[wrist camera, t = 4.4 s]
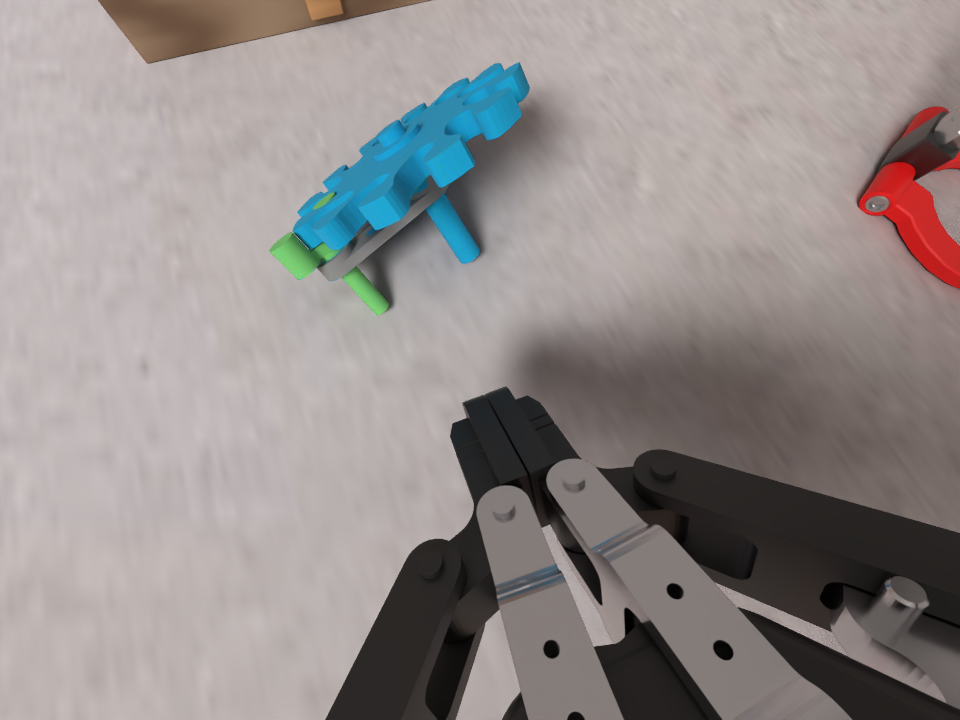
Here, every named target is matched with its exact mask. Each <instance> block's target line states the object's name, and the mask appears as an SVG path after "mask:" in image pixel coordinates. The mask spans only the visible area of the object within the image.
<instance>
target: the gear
mask: <svg viewBox="0 0 960 720" xmlns="http://www.w3.org/2000/svg"><path fill="white" fill-rule="evenodd" d="M529 88H530V87H529V84H528V82H527V79H526V77H525V74H524V72H523V69H522V67H521V65H520V62H519V63H516V64H514V65H512V66H511V67H509V68H507V69H506V70H504V69H503V67H502V65H501V64H500V63H497V64H494V65H492V66H490V67H489V68H488V69H486V70H485V71H483V72H482V73H481V74H480V75H479V76H478V77H476V78H475V79H474V80H473V81H472V82H469V80H468V78H464V79H462V80H460V81H458V82H456V83H454V84H452V85H451V86H450V87H448V88H447V89H446V90H445V91H444V92H443V93H442V94H441V95H440V96H439V98H438V99H437V100H436V101H434V102H433V103H432V104H431V105H430V106H429V107H428V108H427V106H426V104H425V103H423V104H421V105H419V106H417V107H416V108H414V109H413V110H411V111H409V112H408V113H406V114H405V115H404V116H403V117H402V118H401V122H400V121H399V120H396V121H394V122H393V123H391V124H390V125H388V126H387V127H385V128H384V129H383V130H382V131H381V132H380V133H379V134H378V135H377V136H376V137H375V138H373V139H372V140H371V141H369V142H368V143H367V144H365V145H364V146H363V147H361V149H360V150H359V151H360V153H361V154H362V155H363V157H362V158H361V159H360V160H359V161H358V162H357V163H356V164H355V165H354V166H352V167H351V168H348V167H347V165H343V166H341V167H340V168H339V169H337V170H336V171H335V172H334V173H333V174H331V175H330V176H329V177H328V178H327V179H326V180H325V181H324V182H323V184H324V185H325V186H326V188H327V189H328V190H329V191H328V192H326V193H322V192H320V193H317V194H316V195H314V196H313V197H311V198H310V199H309V200H308V201H307V202H306V203H305V204H304V205H303V206H302V207H301V208H300V210H299V211H298V212H297V213H298V214H299V215H300V216H301V217H302V218H301V219H299V220H298V221H297V223H296V224H295V226H294V228H293V232H294V234H295V235H296V236H297V237H298V238H299V239H300V240H301V241H302V242H303V243H304V244H305V245H306V246H307V247H308V248H309V250H308V249H307V248H306V247H305V245H304V244H303V243H302V242H301V241H300V240H299V239H298V238H297V237H296V236H295V235H294V234H293V233H292V232H291V233H288V234H287V235H285V236H284V237H282V238H281V239H280V240H278V241H277V242H276V243H275V244H274V245H273V246H272V247H271V249H270V251H269V252H270V253H271V254H272V255H273V256H274V257H276V258H277V259H278V260H279V261H280V262H281V263H282V264H283V265H284V266H285V267H286V268H287V269H288V270H289V271H290V272H291V273H292V274H293V275H294V276H295V277H296V278H297V279H298V280H300V279H303V278H305V277H306V276H308V275H309V274H310V273H311V272H313V271H314V270H315V268H317V269H318V270H319V271H320V272H321V273H322V274H323V275H324V276H325V277H326V278H327V279H328V280H329V281H335V280H337V279H339V278H341V277H342V278H343V279H344V280H345V282H346V283H347V284H348V285H349V286H350V287H351V288H352V289H353V290H354V291H355V292H356V293H357V294H358V296H359V297H360V298H361V299H362V300H363V301H364V302H365V303H366V304H367V305H368V306H369V307H370V308H371V310H372V311H373V312H374V313H375V314H376V315H379V314H382V313H383V312H384V311H386V310H387V308H388V307H389V303H388V302H387V301H386V299H385V298H384V297H383V296H382V295H381V294H380V293H379V291H378V290H377V289H376V288H375V287H374V286H373V285H372V284H371V282H370V281H369V280H368V279H367V278H366V277H365V276H364V274H363V273H362V272H361V271H360V270H359V269H358V268H357V265H358V264H359V263H360V262H362V261H363V260H364V259H365V258H366V257H368V256H369V255H370V254H371V253H373V252H374V251H375V250H376V249H377V248H379V247H380V246H381V245H382V244H383V243H385V242H386V241H387V240H388V239H390V238H391V237H392V236H393V235H394V234H396V233H397V232H398V231H399V230H401V229H402V228H403V227H404V226H405V225H407V224H408V223H409V222H410V221H412V220H413V219H414V218H415V217H416V216H418V215H419V214H420V213H421V212H423V211H424V210H426V212H427V213H428V215H429V216H430V218H431V219H432V221H433V222H434V223H435V225H436V226H437V228H438V229H439V231H440V232H441V234H442V235H443V237H444V238H445V240H446V241H447V243H448V244H449V246H450V247H451V249H452V250H453V252H454V253H455V255H456V256H457V258H458V259H459V261H460V262H461V263H463V264H465V263H468V262H470V261H472V260H474V259H475V258H476V257H477V256H478V255H479V253H480V249H479V248H478V246H477V245H476V243H475V241H474V240H473V238H472V236H471V235H470V233H469V232H468V230H467V228H466V227H465V225H464V224H463V222H462V220H461V219H460V217H459V216H458V214H457V212H456V211H455V209H454V207H453V206H452V204H451V203H450V201H449V199H448V198H447V196H446V195H445V191H446V190H447V188H448V184H450V183H451V182H453V181H454V180H456V179H457V178H459V177H460V176H462V175H463V174H464V173H466V172H467V171H468V170H470V169H471V168H472V167H474V165H475V160H474V158H473V156H472V154H471V152H470V150H469V149H468V147H467V145H466V142H467V141H468V140H470V139H471V138H473V137H475V136H477V135H479V134H482V133H483V135H484V137H485V139H486V140H492V139H495V138H497V137H500V136H501V135H502V134H503V133H505V132H506V131H507V130H508V129H509V128H510V127H512V126H513V125H514V124H515V122H516V121H517V120H518V119H519V118H520V117H521V116H522V113H521V110H520V108H519V106H518V103H519V102H521V101H522V100H523V99H524V98H525V97H526V96H527V94H528V92H529ZM367 221H369V223H370V225H369V226H368V227H367V228H366V229H364V230H363V231H362V232H361V233H359V234H358V235H357V236H356V237H354V236H355V234H356V233H357V232H358V230H359V229H360V228H361V227H362V226H363V225H364V224H365V223H366V222H367ZM353 237H354V238H353ZM352 238H353V239H352ZM351 239H352V240H351ZM350 240H351V241H350Z"/></svg>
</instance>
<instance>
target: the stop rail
mask: <svg viewBox="0 0 960 720" xmlns="http://www.w3.org/2000/svg"><path fill="white" fill-rule="evenodd" d="M98 1H99V2H100V4H101V5H102V6H103V8H104V9H105V10H106V11H107V13H108V14H109V15H110V17H111V18H112V19H113V20H114V22H115V23H116V24H117V26H118V27H119V28H120V29H121V31H122V32H123V33H124V35H125V36H126V37H127V38H128V40H129V41H130V42H131V44H132V45H133V46H134V47H135V49H136V50H137V51H138V53H139V54H140V55H141V56H142V58H143V59H144V60H145V62H146V63H151V62H155V61H160V60H164V59H169V58H173V57H178V56H182V55H187V54H191V53H196V52H200V51H205V50H209V49H213V48H218V47H222V46H227V45H231V44H236V43H240V42H245V41H249V40H254V39H258V38H263V37H267V36H272V35H276V34H281V33H285V32H290V31H294V30H298V29H303V28H307V27H312V26H316V25H321V24H325V23H330V22H334V21H339V20H343V19H348V18H352V17H357V16H361V15H366V14H370V13H374V12H379V11H383V10H388V9H392V8H397V7H401V6H406V5H410V4H415V3H419V2H424V1H428V0H98Z"/></svg>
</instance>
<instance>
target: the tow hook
mask: <svg viewBox="0 0 960 720" xmlns="http://www.w3.org/2000/svg"><path fill="white" fill-rule="evenodd" d="M950 168H958V169H960V107H959V108H957V109H955V110H953V111H952V112H949V111H948V110H947V109H945V108H943V107H930V108H927V109H924V110H922V111H921V112H919V113H918V114H917V115H916V116H915V118H914V119H913V120H912V122H911V124H910V125H909V127H908V128H907V130H906V131H905V133H904V134H903V136H902V137H901V139H900V140H898V141H897V142H896V143H895V144H894V146H893V147H892V149H891V150H890V152H889V153H888V155H887V156H886V158H885V159H884V161H883V162H882V164H881V165H880V167H879V168H878V170H877V173H876V177H875V179H874V180H873V182H872V183H871V185H870V186H869V188H868V189H867V191H866V192H865V194H864V195H863V197H862V198H861V200H860V202H859V207H860V209H861V210H862V211H863V212H865V213H866V214H869V215H874V216H878V215H885V216H887V217H888V218H889V219H891V220H892V221H893V222H895V223H896V225H897V228H898V230H899V233H900V235H901V237H902V238H903V240H904V242H905V243H906V245H907V246H908V248H909V250H910V251H911V253H912V254H913V255H914V256H915V257H916V258H917V259H918V260H919V261H920V262H921V263H922V265H923V266H924V267H925V268H926V269H927V270H928V271H930V272H931V273H933V274H934V275H936V276H937V277H938V278H940V279H941V280H943V281H944V282H946V283H947V284H949V285H951V286H954V287H956V288H959V289H960V246H959V245H958V244H957V243H956V242H955V241H954V240H953V239H952V238H951V237H950V236H949V235H948V234H947V232H946V230H945V229H944V227H943V226H942V224H941V223H940V221H939V219H938V216H937V213H936V211H935V208H934V203H933V196H932V195H931V193H930V192H929V191H927V190H926V189H925V188H923V187H922V186H921V185H919V184H918V183H916V182H915V180H917V179H918V178H920V177H922V176H924V175H926V174H928V173H929V172H931V171H933V170H937V171H940V170H942V169H950Z"/></svg>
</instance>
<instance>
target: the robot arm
mask: <svg viewBox="0 0 960 720" xmlns="http://www.w3.org/2000/svg"><path fill="white" fill-rule="evenodd" d="M463 407H464V411H465V414H466V417H467V418H466V419H463V420H461V421H458V422H455V423H453V424H452V429H451V435H450V438H451V440H452V443H453V446H454V449H455V452H456V455H457V458H458V460H459V463H460V466H461V469H462V472H463V475H464V477H465V480H466V483H467V486H468V488H469V491H470V494H471V497H472V499H473V502H474V511H473V515H472V517H471V519H470V521H469V523H468V524H467V526H466V527H465V528H464V529H463V530H462V531H461V532H460V533H458V534H457V535H456V536H455V537H454V538H452V539H451V540H450V541H447V540H444V539H432V540H428V541H425V542H423V543H422V544H420V545H419V546H417V547H416V548H415V549H414V550H413V551H412V552H411V553H410V554H409V556H408V558H407V559H406V561H405V563H404V565H403V567H402V569H401V571H400V573H399V575H398V577H397V579H396V581H395V583H394V585H393V587H392V589H391V591H390V593H389V595H388V597H387V599H386V601H385V603H384V605H383V607H382V609H381V611H380V613H379V615H378V617H377V619H376V621H375V623H374V624H373V626H372V628H371V630H370V632H369V634H368V636H367V638H366V640H365V642H364V644H363V646H362V648H361V650H360V652H359V654H358V656H357V658H356V660H355V662H354V664H353V666H352V668H351V670H350V672H349V674H348V676H347V678H346V680H345V682H344V684H343V686H342V688H341V690H340V692H339V694H338V696H337V698H336V700H335V702H334V704H333V706H332V708H331V710H330V712H329V714H328V715H327V717H326V719H325V720H456V716H457V713H458V710H459V707H460V704H461V701H462V697H463V694H464V691H465V688H466V685H467V682H468V679H469V675H470V672H471V669H472V666H473V663H474V660H475V657H476V653H477V650H478V647H479V644H480V641H481V638H482V634H483V631H484V627H485V622H486V621H487V620H488V619H489V618H491V617H492V616H493V615H494V614H495V613H496V612H497V611H498V610H499V609H500V612H501V616H502V620H503V624H504V628H505V632H506V636H507V639H508V643H509V647H510V651H511V655H512V659H513V663H514V666H515V670H516V674H517V678H518V682H519V686H520V689H521V692H520V693H519V694H518V696H517V697H516V698H515V699H514V700H513V702H512V703H511V705H510V706H509V708H508V710H507V711H506V713H505V715H504V717H503V719H502V720H960V533H958V532H954V531H950V530H947V529H943V528H940V527H936V526H933V525H929V524H926V523H922V522H919V521H915V520H912V519H908V518H905V517H901V516H898V515H894V514H891V513H887V512H883V511H880V510H876V509H873V508H869V507H866V506H862V505H859V504H855V503H852V502H848V501H845V500H841V499H838V498H834V497H831V496H827V495H823V494H820V493H816V492H813V491H809V490H806V489H802V488H799V487H795V486H792V485H788V484H785V483H781V482H778V481H774V480H771V479H767V478H764V477H760V476H756V475H753V474H749V473H746V472H742V471H739V470H735V469H732V468H728V467H725V466H721V465H718V464H714V463H711V462H707V461H704V460H700V459H696V458H693V457H689V456H686V455H682V454H679V453H675V452H672V451H668V450H650V451H647V452H645V453H643V454H641V455H640V456H639V457H638V458H637V459H636V460H635V462H634V467H625V468H615V469H603V468H598V467H595V466H594V465H592V464H591V463H589V462H587V461H585V460H582V459H581V458H580V457H579V456H578V455H577V453H576V452H575V450H574V449H573V448H572V446H571V445H570V443H569V442H568V441H567V439H566V438H565V437H564V435H563V434H562V432H561V431H560V430H559V428H558V427H557V425H556V424H554V421H553V420H552V419H551V417H550V416H549V415H548V413H547V412H546V410H545V409H544V408H543V406H542V405H541V403H540V402H538V401H536V400H534V399H533V398H531V397H529V396H524V397H522V398H519V399H516V400H515V398H514V397H513V395H512V393H511V392H510V390H509V389H508V388H507V387H503V388H500V389H498V390H495V391H492V392H489V393H487V394H485V396H484V395H482V396H479V397H476V398H473V399H471V400H468V401H465V402H463ZM549 524H550V525H551V527H552V529H553V531H554V532H555V534H556V537H557V542H558V547H559V549H560V551H561V553H562V554H563V556H564V558H565V559H566V561H567V562H568V564H569V566H570V567H571V569H572V570H573V572H574V574H575V575H576V577H577V578H578V580H579V582H580V583H581V585H582V586H583V588H584V590H585V591H586V593H587V595H588V596H589V598H590V599H591V601H592V603H593V604H594V606H595V607H596V609H597V611H598V613H599V614H600V616H601V619H602V621H603V623H604V626H605V629H606V631H607V633H608V635H609V637H610V639H611V641H612V643H613V644H610V645H603V646H596V647H593V644H592V642H591V639H590V637H589V635H588V632H587V630H586V627H585V625H584V623H583V620H582V618H581V615H580V613H579V610H578V608H577V606H576V603H575V601H574V598H573V596H572V594H571V591H570V589H569V586H568V584H567V582H566V580H565V577H564V575H563V573H562V572H561V571H559V569H558V567H557V565H556V563H555V560H554V558H553V556H552V553H551V551H550V548H549V546H548V543H547V541H546V538H545V536H544V533H543V531H542V529H541V528H542V527H545V526H547V525H549ZM714 582H716V583H718V584H720V585H723V586H725V587H727V588H730V589H732V590H734V591H737V592H739V593H741V594H744V595H746V596H748V597H751V598H753V599H755V600H758V601H760V602H763V603H765V604H767V605H770V606H772V607H774V608H777V609H779V610H781V611H784V612H786V613H788V614H791V615H793V616H795V617H798V618H800V619H802V620H805V621H807V622H809V623H812V624H814V625H816V626H819V627H821V628H823V629H826V630H828V631H830V632H833V634H834V637H835V638H836V640H837V641H838V643H839V644H840V646H841V647H842V648H843V649H844V650H845V652H846V654H847V656H846V655H844V654H841V653H839V652H837V651H835V650H833V649H831V648H829V647H827V646H825V645H822V644H820V643H818V642H816V641H814V640H812V639H810V638H808V637H806V636H803V635H801V634H799V633H797V632H795V631H793V630H791V629H789V628H787V627H784V626H782V625H780V624H778V623H776V622H774V621H772V620H770V619H768V618H765V617H763V616H761V615H759V614H756V613H754V612H751V611H748V610H745V609H743V608H739V607H736V606H735V605H734V604H733V602H732V601H731V600H730V599H729V598H728V597H727V596H726V595H725V594H724V593H723V592H722V591H721V589H720V588H719V587H718V586H717V585H716V584H715V583H714Z"/></svg>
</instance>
